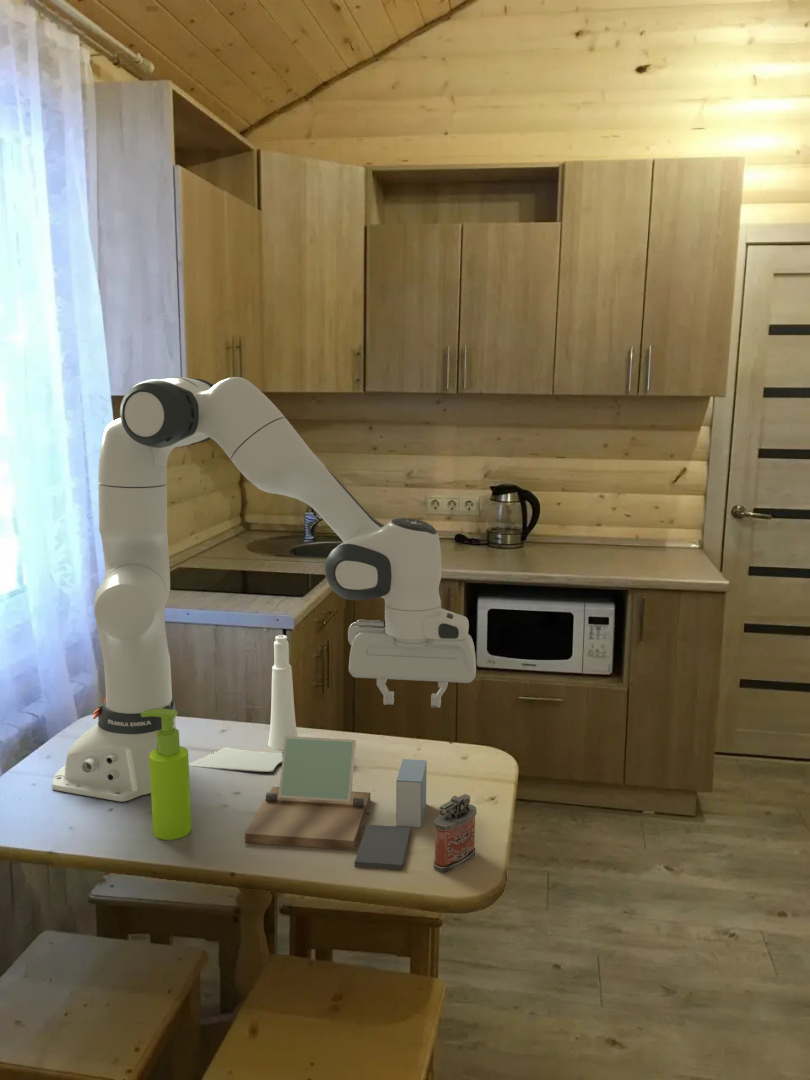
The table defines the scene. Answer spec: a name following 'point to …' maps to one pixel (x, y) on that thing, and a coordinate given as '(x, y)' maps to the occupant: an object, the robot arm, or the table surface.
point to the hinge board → (308, 821)
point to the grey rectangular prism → (411, 793)
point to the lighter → (454, 834)
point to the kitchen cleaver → (240, 760)
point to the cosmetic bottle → (281, 696)
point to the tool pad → (383, 847)
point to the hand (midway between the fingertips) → (412, 704)
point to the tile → (317, 769)
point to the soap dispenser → (169, 780)
